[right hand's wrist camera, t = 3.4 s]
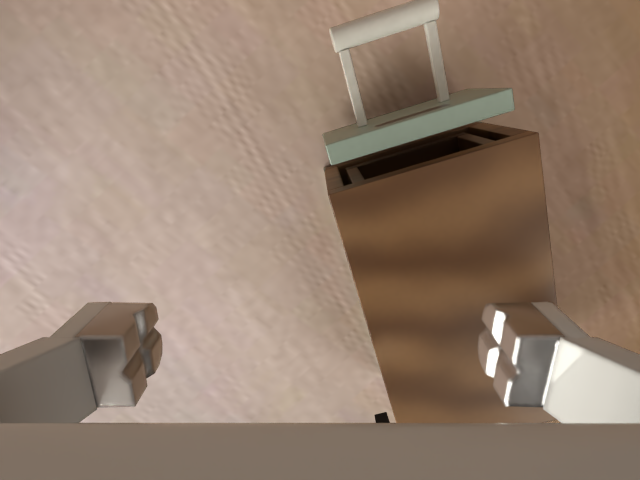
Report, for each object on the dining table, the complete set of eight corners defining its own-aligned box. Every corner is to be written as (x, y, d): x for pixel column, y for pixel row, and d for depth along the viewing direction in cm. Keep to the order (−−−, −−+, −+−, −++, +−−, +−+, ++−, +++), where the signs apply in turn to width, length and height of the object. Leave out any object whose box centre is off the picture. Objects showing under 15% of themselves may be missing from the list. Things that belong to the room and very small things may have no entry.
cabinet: (323, 167, 30) (327, 194, 22) (477, 121, 29) (539, 132, 21) (385, 377, 37) (406, 455, 29) (512, 344, 36) (569, 417, 28)
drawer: (296, 45, 26) (292, 31, 20) (453, -7, 26) (497, -38, 20) (384, 348, 35) (399, 403, 29) (504, 317, 34) (547, 366, 28)
